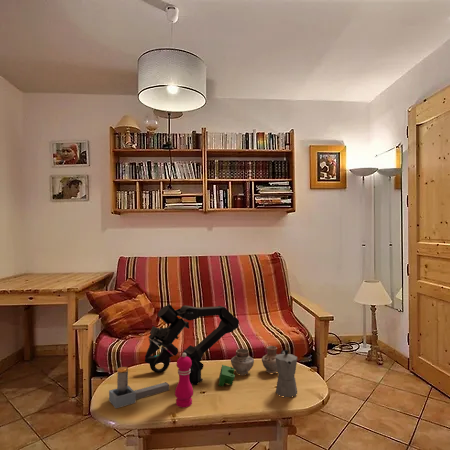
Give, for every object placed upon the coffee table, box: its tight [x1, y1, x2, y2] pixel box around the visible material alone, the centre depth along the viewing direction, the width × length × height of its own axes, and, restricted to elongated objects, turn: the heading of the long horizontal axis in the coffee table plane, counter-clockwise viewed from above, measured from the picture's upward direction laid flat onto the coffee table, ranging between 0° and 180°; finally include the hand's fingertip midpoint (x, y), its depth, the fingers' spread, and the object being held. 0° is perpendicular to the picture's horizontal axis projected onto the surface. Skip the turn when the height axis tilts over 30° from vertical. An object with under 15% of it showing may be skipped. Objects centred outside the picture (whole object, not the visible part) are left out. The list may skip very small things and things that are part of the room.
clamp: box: [218, 364, 236, 387], centre depth 160 cm, size 12×6×9 cm, turn 173°
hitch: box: [108, 381, 170, 409], centre depth 146 cm, size 24×8×4 cm, turn 126°
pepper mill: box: [174, 352, 194, 408], centre depth 140 cm, size 7×7×20 cm
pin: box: [116, 366, 129, 396], centre depth 142 cm, size 4×4×13 cm
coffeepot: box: [275, 349, 298, 398], centre depth 150 cm, size 15×9×18 cm, turn 2°
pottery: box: [230, 345, 278, 376], centre depth 172 cm, size 11×25×12 cm, turn 95°
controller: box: [144, 354, 171, 374], centre depth 171 cm, size 4×12×10 cm, turn 103°
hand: (150, 361), depth 149 cm, fingers open, 9 cm apart
